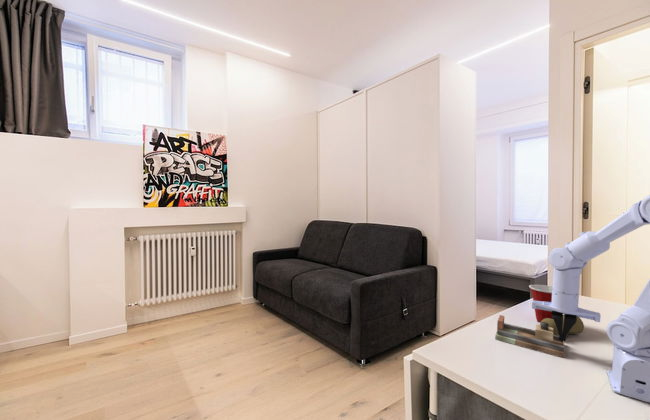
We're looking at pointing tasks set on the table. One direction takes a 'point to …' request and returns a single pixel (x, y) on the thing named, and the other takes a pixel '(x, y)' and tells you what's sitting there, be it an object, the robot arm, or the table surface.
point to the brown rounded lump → (576, 328)
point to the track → (527, 338)
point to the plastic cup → (543, 295)
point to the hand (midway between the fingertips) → (562, 339)
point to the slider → (544, 332)
